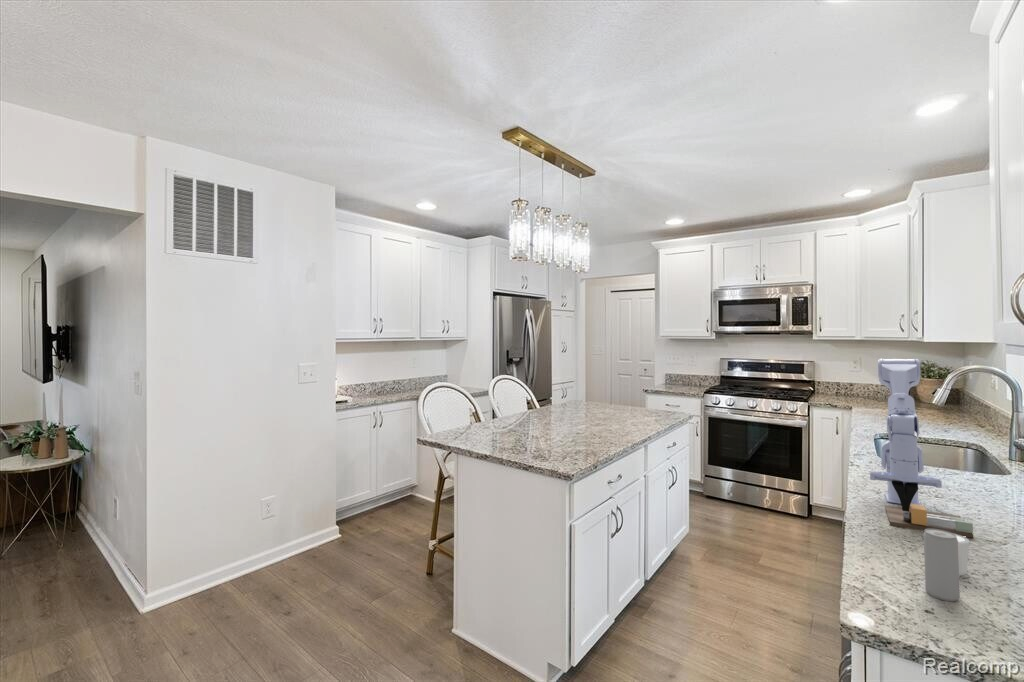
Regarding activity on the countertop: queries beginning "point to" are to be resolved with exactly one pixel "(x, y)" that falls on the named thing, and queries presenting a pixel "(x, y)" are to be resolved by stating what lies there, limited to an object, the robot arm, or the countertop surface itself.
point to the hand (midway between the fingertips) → (905, 510)
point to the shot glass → (963, 554)
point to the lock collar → (918, 514)
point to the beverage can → (941, 564)
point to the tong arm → (946, 517)
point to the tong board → (929, 522)
